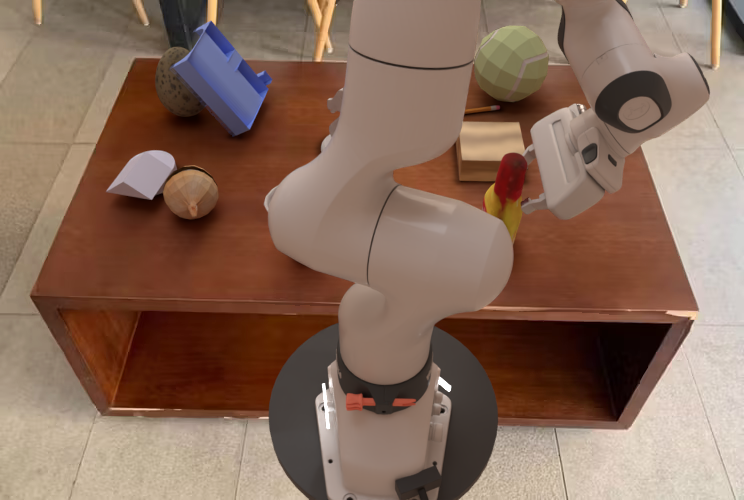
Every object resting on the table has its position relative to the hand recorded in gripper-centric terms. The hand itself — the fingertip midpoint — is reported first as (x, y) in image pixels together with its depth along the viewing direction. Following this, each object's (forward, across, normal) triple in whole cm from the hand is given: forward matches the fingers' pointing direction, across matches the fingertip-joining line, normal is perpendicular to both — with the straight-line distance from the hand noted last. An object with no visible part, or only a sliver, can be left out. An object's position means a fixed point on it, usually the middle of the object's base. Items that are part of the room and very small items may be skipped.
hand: (519, 188), depth 106 cm
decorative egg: (+54, -38, -35) cm, 74 cm away
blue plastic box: (+38, -37, -35) cm, 63 cm away
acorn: (+48, -14, -32) cm, 59 cm away
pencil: (+7, -41, +11) cm, 43 cm away
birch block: (+10, -23, +9) cm, 27 cm away
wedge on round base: (+54, -8, -40) cm, 68 cm away
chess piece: (+30, -26, -11) cm, 41 cm away
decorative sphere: (-6, -46, +4) cm, 46 cm away
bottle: (+11, 0, +8) cm, 14 cm away
